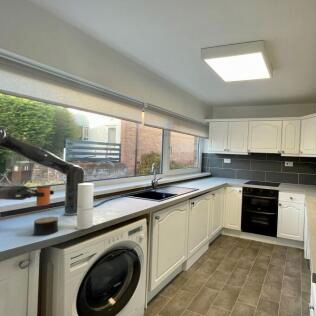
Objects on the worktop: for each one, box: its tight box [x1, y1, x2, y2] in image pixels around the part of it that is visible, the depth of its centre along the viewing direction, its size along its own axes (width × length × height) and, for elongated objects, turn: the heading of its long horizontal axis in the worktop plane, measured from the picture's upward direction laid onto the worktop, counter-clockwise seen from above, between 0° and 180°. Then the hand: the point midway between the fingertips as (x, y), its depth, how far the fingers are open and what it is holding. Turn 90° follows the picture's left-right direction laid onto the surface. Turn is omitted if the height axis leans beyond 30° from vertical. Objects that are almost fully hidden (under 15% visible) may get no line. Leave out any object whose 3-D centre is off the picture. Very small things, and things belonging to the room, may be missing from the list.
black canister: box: [33, 216, 59, 237], centre depth 103 cm, size 9×9×7 cm
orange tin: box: [35, 185, 51, 207], centre depth 106 cm, size 5×5×10 cm
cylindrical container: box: [76, 182, 95, 230], centre depth 113 cm, size 7×7×25 cm
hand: (48, 193), depth 106 cm, fingers closed on orange tin, 5 cm apart
